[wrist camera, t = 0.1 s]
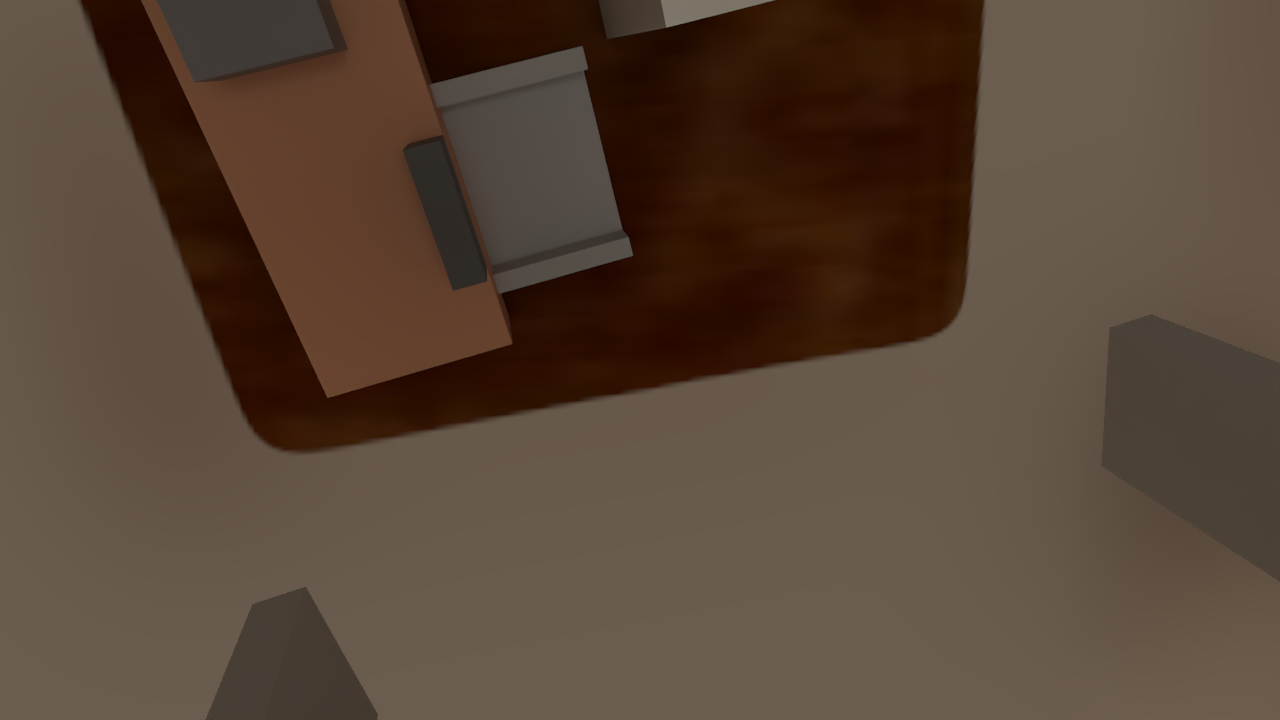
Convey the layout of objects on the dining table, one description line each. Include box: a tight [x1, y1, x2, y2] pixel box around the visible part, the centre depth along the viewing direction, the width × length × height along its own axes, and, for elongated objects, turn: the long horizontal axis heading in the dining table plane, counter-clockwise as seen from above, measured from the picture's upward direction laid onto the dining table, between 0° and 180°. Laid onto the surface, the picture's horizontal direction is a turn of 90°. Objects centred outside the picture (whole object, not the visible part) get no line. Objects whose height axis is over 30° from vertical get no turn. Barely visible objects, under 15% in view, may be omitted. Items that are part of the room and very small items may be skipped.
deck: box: [141, 0, 633, 398], centre depth 31 cm, size 22×16×7 cm
